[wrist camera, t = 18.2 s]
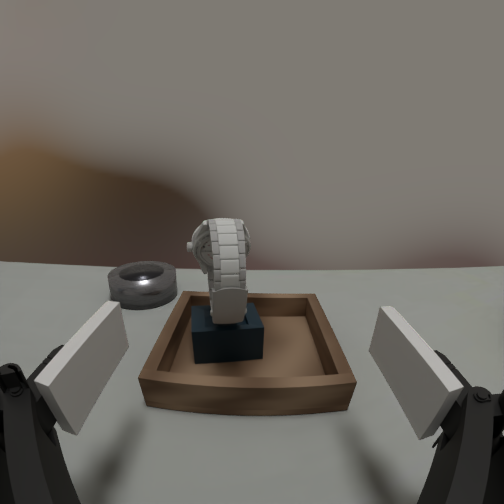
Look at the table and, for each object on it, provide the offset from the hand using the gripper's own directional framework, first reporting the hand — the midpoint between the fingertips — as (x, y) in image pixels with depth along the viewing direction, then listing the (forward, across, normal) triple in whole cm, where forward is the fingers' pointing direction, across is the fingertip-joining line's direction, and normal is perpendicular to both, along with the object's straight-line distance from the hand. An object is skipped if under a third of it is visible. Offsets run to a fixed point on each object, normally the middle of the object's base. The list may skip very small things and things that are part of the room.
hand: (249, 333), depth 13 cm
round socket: (+20, -14, -8) cm, 25 cm away
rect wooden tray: (+8, 0, -8) cm, 11 cm away
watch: (+9, -2, -7) cm, 11 cm away
